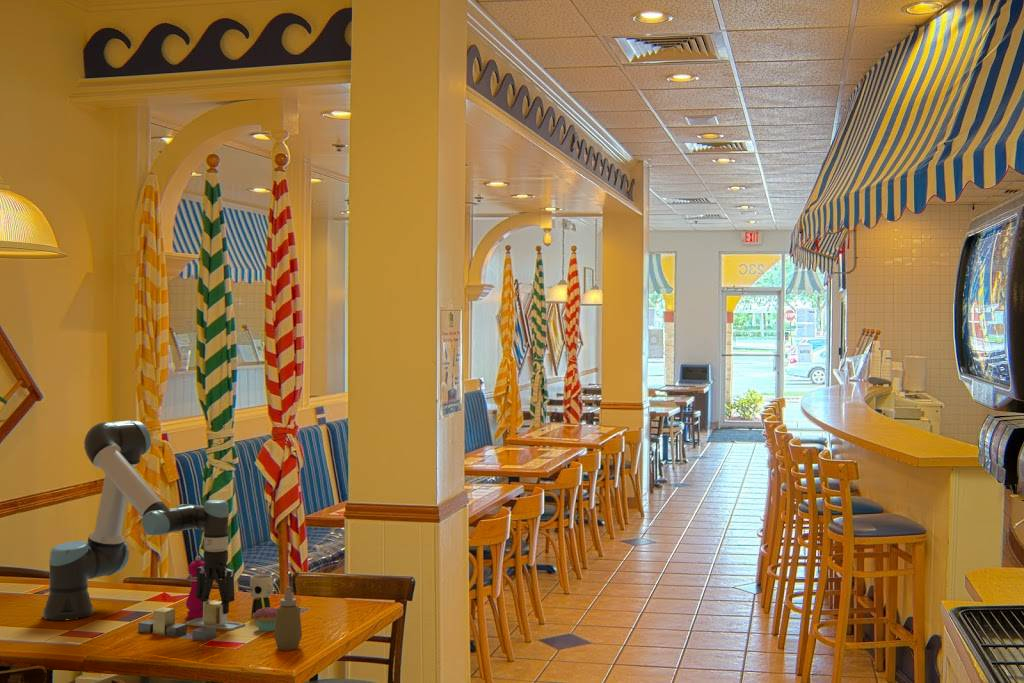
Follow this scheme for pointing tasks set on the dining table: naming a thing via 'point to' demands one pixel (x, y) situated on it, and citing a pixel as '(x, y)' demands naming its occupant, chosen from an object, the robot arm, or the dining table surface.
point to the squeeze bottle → (288, 623)
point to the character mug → (261, 591)
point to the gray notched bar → (180, 631)
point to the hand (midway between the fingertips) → (214, 622)
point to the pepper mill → (194, 591)
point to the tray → (227, 626)
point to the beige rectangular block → (212, 613)
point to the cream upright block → (163, 620)
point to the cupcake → (265, 617)
